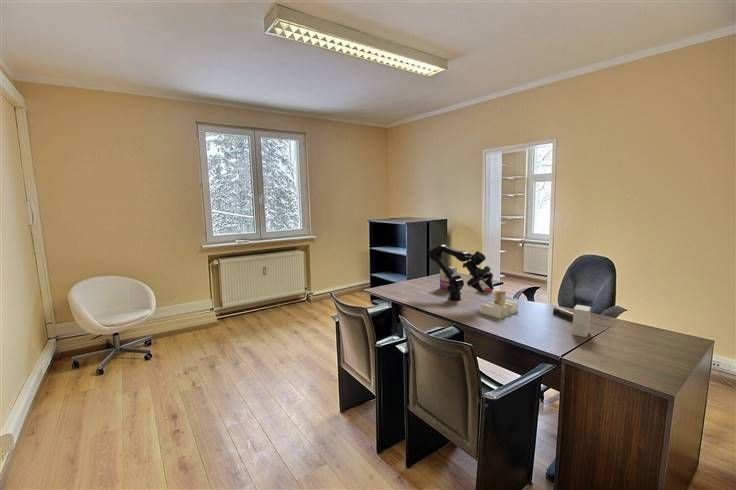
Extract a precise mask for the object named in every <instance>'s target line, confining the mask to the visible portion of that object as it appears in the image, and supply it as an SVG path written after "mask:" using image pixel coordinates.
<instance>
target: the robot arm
mask: <svg viewBox="0 0 736 490" xmlns="http://www.w3.org/2000/svg"><path fill="white" fill-rule="evenodd" d="M443 253H445V254H447V255H450V256H452V257H454V258H456V259H457V260H458V261H460V262H462V268H466V269H467V271H468V272H469V276H472V277H471V278H470V279H468V280H467V282H466V285H467V286H468V287H470V288H473V289H475V290H477V291H478V292H480V293H481V294H484V293H485V291H484V290H483V289H482V287H481V286H480V284H479V281H481V280H483V281H485V282H484V283H485V284H486V285H487V286H488V287H489V288H491V289H492V290H493V291H494V284H493V285H492V281H491V280H492V277H493V278H494V274H493V273H492V272H491V268H490V266H488V265H486V266H484V267H483V268H481V267H478V266H480V265H481V264H482V263H483V262H484V261H485V260H486V256H485V254H483V253H482V252H480V251H479V250H478V251H475V253H474V254H472V253H471V252H470V251H465V250H458V249H457V248H456V249H455V248H454V247H450V246H448V245H447V244H439V245H438V246H437V247H435V248H433V249H429V250H428V252H427V256H428V258H430V260H431V261H433V262H435V263H436V264H437V265H438V267H439V269H440V268H441V269H442V271H443V272H444V273H445V275H446V276H447V277H448V279H449V284H450V285H449V286H448V287H447V289H448V290H447V291H448V297H447V299H448V300H450V301H453V302H454V301H461V300H462V299H461V297H462V296H461V295H462V292H461V290H463V287H464V284H465V282H464V278H462V277H461V275H460V274H456V275H455V274H454V273H453V272H452V270H451V269H450V268H449V267H450V266H449V264H447V262H446V261H445V260H444V259H443ZM483 275H484V276H483Z"/></svg>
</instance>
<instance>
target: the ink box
mask: <svg viewBox="0 0 736 490" xmlns="http://www.w3.org/2000/svg"><path fill="white" fill-rule="evenodd" d="M483 276H484V275H483ZM491 281H492V285H493V286H494V276H493V277H492V280H491ZM484 282H485V281H483V280H481V281H479V284H480V286H481V287H482V289H483V291H484V292H485V291H486V292H492V291H494V289H493V290H492V289H491V288H489V287H488V286H487V285H486V284H485V283H484Z"/></svg>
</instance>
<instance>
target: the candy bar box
mask: <svg viewBox="0 0 736 490" xmlns="http://www.w3.org/2000/svg"><path fill="white" fill-rule="evenodd" d="M449 268H450V269H451V270H452V272H453V273H454V274H455V275H457V270H458V269H457V267H455V266H449ZM449 285H450V284H449V279H448V277H447V276H446V275H445V273H444V272H443V271H442V269H441V268H440V267H439V289H441V290H446V291H448V289H447V287H448V286H449Z"/></svg>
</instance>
